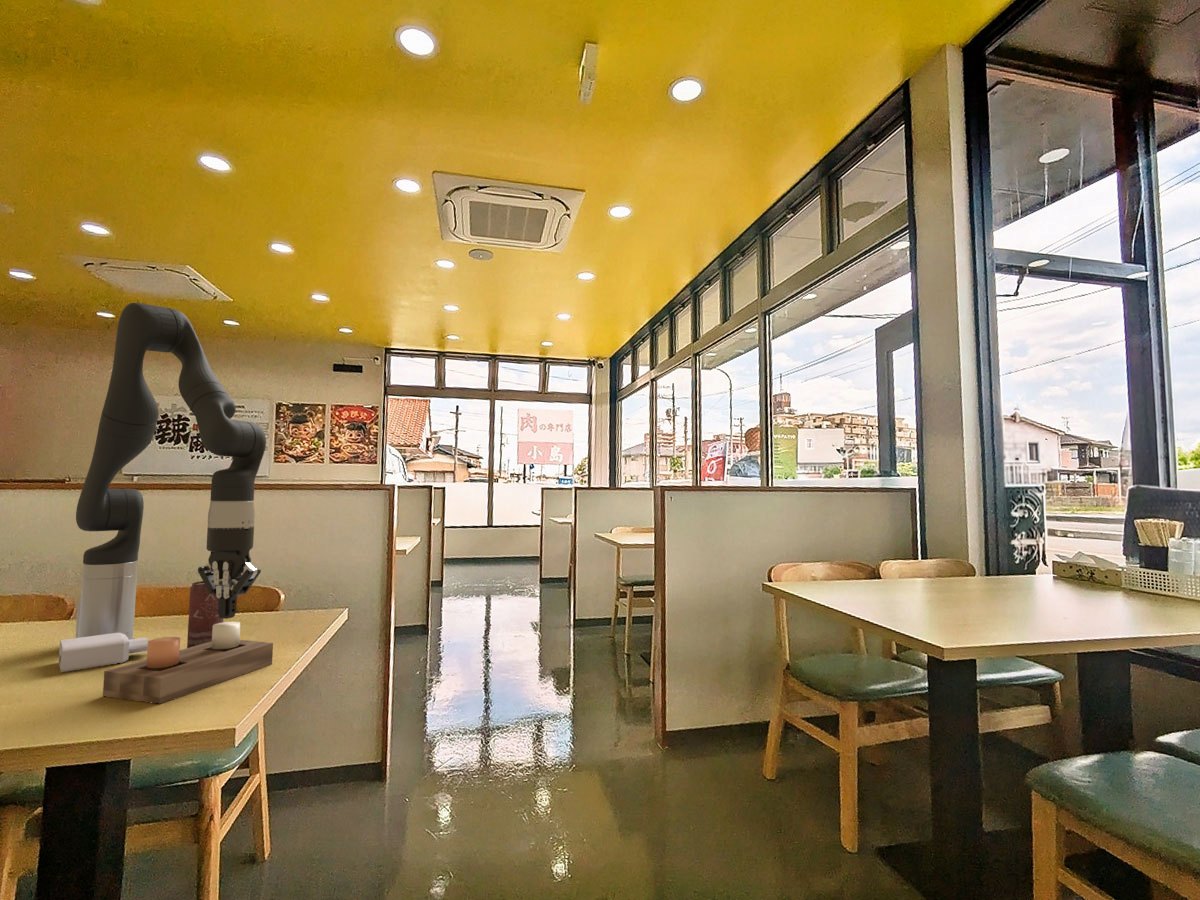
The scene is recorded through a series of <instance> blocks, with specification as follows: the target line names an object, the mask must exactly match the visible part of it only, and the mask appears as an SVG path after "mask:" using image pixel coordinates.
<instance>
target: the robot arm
mask: <svg viewBox="0 0 1200 900" xmlns="http://www.w3.org/2000/svg"><path fill="white" fill-rule="evenodd" d="M116 329H117V330H116V337H115V345H114V354H113V361H112V362H113V363H112V370H111V375H110V380H109V384H108V389H107V393H106V396H105V400H104V403H103V407H102V411H101V414H100V418H99V424H98V430H97V433H96V434H97V435H96V440H95V445H94V450H93V453H92V454H93V455H92V457H91V462H90V466H89V469H88V471H87V474H86V477H85V480H84V483H83V486H82V489H81V491H80V494H79V498H78V501H77V505H76V510H75V520H76V521H75V522H76V525H77V527H78V528H79V529H80V530H82V531H84V532H111V531H112V532H114V531H117V534H116V535H115V536H114V538H112V539H110V540H109V541H107V542H105V543H102V544H100V545H97V546H94V547H90V548H88V549H86V550H85V551H84V552H83V555H82V571H81V572H82V573H81V588H80V589H81V592H80V598H78V600H77V606H76V607H77V609H76V621H75V622H76V624H75V625H76V626H75V638H81V637H88V636H96V635H104V634H112V633H122V634H125V635H126V636H127V638H128V639H129V640H130V639H134V629H135V627H134V626H135V613H136V611H135V609H136V599H137V597H136V595H137V581H138V580H137V579H138V559H139V552H140V551H139V550H140V545H141V533H142V532H141V531H142V523H143V517H144V508H145V507H144V497H143V494H142V492H141V491H140V490H138V489H136V488H110V487H109V486H110V484H111V483H112V482H113V479H115V477H116V476H117V474H118V473H120V471H121V470H122V469H123V468H124V467H126V465H127V464H129V463H130V462H132V461H133V460H134V459H135V458H136V457H138V456H139V455H140V454H142V453H143V452H144V451H145V449H146V448H147V447H148V446H149V445H150V444H151V443H152V440H153V439H154V436H155V432H156V427H157V424H158V419H159V414H160V413H159V406H158V403H157V402H156V399H155V397H154V396H153V394H152V392H151V390H150V388H149V386H148V383H147V382H146V380H145V376H144V372H143V371H144V370H143V369H144V365H143V364H144V358H145V354H146V352H147V351H148V352H158V353H159V352H160V353H170V354H173V355H174V356H175V357H176V358H177V359H178V360H179V361H180V363H181V369H180V374H179V376H178V390H179V394H180V395H181V398H182V399H183V401H184V402H185V404H186V406H187V408H189V410H190V411H191V413H192V415H194V417H195V420H196V426H197V429H198V433H199V437H200V440H201V444H202V445H203V447H205V449H206V450H207V451H208V452H210V453H212V455H215V456H218V457H229V458H232V457H233V458H232V460H231V463H230V465H229V467H228V468H224V469H219V470H216V471H214V473H213V474H212V476H211V482H210V483H211V484H210V499H209V501H210V503H209V508H208V512H207V533H206V548H205V549H206V551H209V552H210V554H209V557H208V562H207V563H206V564H205V565H204V566H203V565H202V566H199V567H198V568H197V573H198V575H199V576H200V579H201V580H202V581H203V582H204V584H205V586H206V587H207V589H208V591H209V593H210V594H215V595H216V596H217V598H218V615H219V618H222V619H223V620H225V619H227V620H228V619H232V618H235V616H236V613H237V607H238V606H237V604H238V602H237V600H238V598H239V596H241V595H244V594H247V593H248V591H249V590H250V588H251V587H252V586H253V584H254V582H256V579H257V578H258V577H259V575H260V574H261V571H262V570H261V568H260V567H255V566H254V565H252V563H251V562H252V558H251V555H250V551H251V550H252V549H253V548H254V535H255V533H254V531H255V516H256V513H255V501H254V500H255V499H254V498H255V480H256V477H257V475H258V472H259V469H260V466H261V463H262V460H263V457H264V454H265V451H266V446H267V437H266V433H265V431H264V429H263V428H262V426H260V425H259V424H258V423H255V422H251V421H245V420H237V419H236V420H235V419H232V418H233V417H234V415H235V413H236V404H235V402H234V400H233V399H232V397H231V396H230V395H229V393H228V392H227V390H226V389H225V387H224V386H223V385H222V384H221V382H220V381H219V379H218V377H217V376H216V374H215V373H214V371H213V369H212V368H211V365H210V362H209V361H208V358H207V356H206V353H205V350H204V349H203V347H202V345H201V342H200V340H199V338H198V335H197V333H196V331H195V328H194V326H193V325H192V323H191V321H190V320H189V318H188V317H187V315H185V314H184V313H183V311H180V310H177V309H175V308H171V307H166V306H160V305H154V304H147V303H142V302H141V303H140V302H130V303H129V304H127V305H126V306H125V307H124V308H123V309H122V311H121V314H120V316H119V318H118V324H117V327H116ZM213 583H214V585H215V586H216V587H214V585H213Z"/></svg>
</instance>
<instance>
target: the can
mask: <svg viewBox="0 0 1200 900" xmlns="http://www.w3.org/2000/svg"><path fill="white" fill-rule="evenodd" d="M213 585H214V583H213ZM214 587H216V586H215V585H214ZM188 605H189V606H188V624H187V641H186V648H190V647H194V646H197V645H201V644H204V643H208V642H212V629H213V625H214V624H217V623H223V622H224V619H222V618H219V615H218V598H217V596H216V595H215V594H210V593H209V591H208V589H207V587H206V586H205V584H204V582H203V580H202V581H196V582H195V581H194V582H192V584H191V586H190V588H189V603H188Z"/></svg>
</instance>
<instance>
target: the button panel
mask: <svg viewBox="0 0 1200 900" xmlns="http://www.w3.org/2000/svg"><path fill="white" fill-rule="evenodd" d="M273 650H274V642H267V641H266V642H265V641H256V640H247V639H245V640H243V639H240V642H239V646H236V647H233V648H228V649H212V642H208V643H204V644H201V645H197V646H194V647H190V648H187V647H186V648H183V649H180V653H179V663H178V664H176V665H173V666H169V667H164V668H147V667H146V665H147V658H146V659H143V660H139V661H136V662H133V663H132V662H131V663H129V664H125V665H122V666H121V665H120V666H119V667H114V668H111V669H107V670H105V671H104V672H103V684H102V685H103V686H102V687H103V688H102V697H103V696H106V697H105V698H111V697H113V698H112V699H118V698H119V700H125V699H127V700H126V701H132V700H136V701H135V702H139V701H145V702H144V703H147V702H152V703H151V704H154V703H159V704H158V705H161V704H160V703H162V704H164V703H163V702H165V703H167V702H170V701H172V699H173V700H175V698H176V699H178V697H179V698H181V697H183V696H187V695H189V693H190V694H192V692H193V693H194V691H195V692H198V691H201V690H203V689H202V688H204V689H206V688H205V687H207V688H209V687H212V686H215V685H217V683H218V684H220V682H221V683H224V682H226V681H229V680H232V679H234V677H235V678H237V677H240V676H243V675H246V674H249V673H252V672H254V671H257V670H260V669H263V668H265V667H268V666H271V665H273V654H274V653H273ZM251 671H252V672H251ZM248 672H249V673H248ZM245 673H246V674H245ZM242 674H243V675H242ZM239 675H240V676H239ZM236 676H237V677H236ZM231 678H232V679H231ZM225 680H226V681H225ZM214 684H215V685H214ZM208 686H209V687H208ZM200 689H201V690H200ZM197 690H198V691H197ZM186 694H187V695H186ZM169 700H170V701H169ZM166 701H167V702H166Z"/></svg>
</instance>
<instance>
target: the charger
mask: <svg viewBox="0 0 1200 900" xmlns="http://www.w3.org/2000/svg"><path fill="white" fill-rule="evenodd" d="M148 641H149V639H148V638H147V637H146V636H145V637H138V638H133V639H130V640H129V639H128V638H127V636H126V635H125V634H122V633H112V634H104V635H96V636H88V637H81V638H76V637H74V638H68V639H67V638H66V639H61V640H59V652H58V665H59V669H60V670H61V671H60V673H61V674H63V673H68V672H69V671H70V672H74V670H76V671H80V669H82V670H87V669H86V668H89V669H93V668H92V667H95V668H99V667H98V666H101V667H105V666H104V665H108V666H111V665H110V664H114V665H118V664H117V663H120V664H123V662H124V663H125V662H127V661H128V660H129V654H135V653H143V652H147V647H148ZM62 672H63V673H62ZM70 672H69V673H70Z"/></svg>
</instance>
